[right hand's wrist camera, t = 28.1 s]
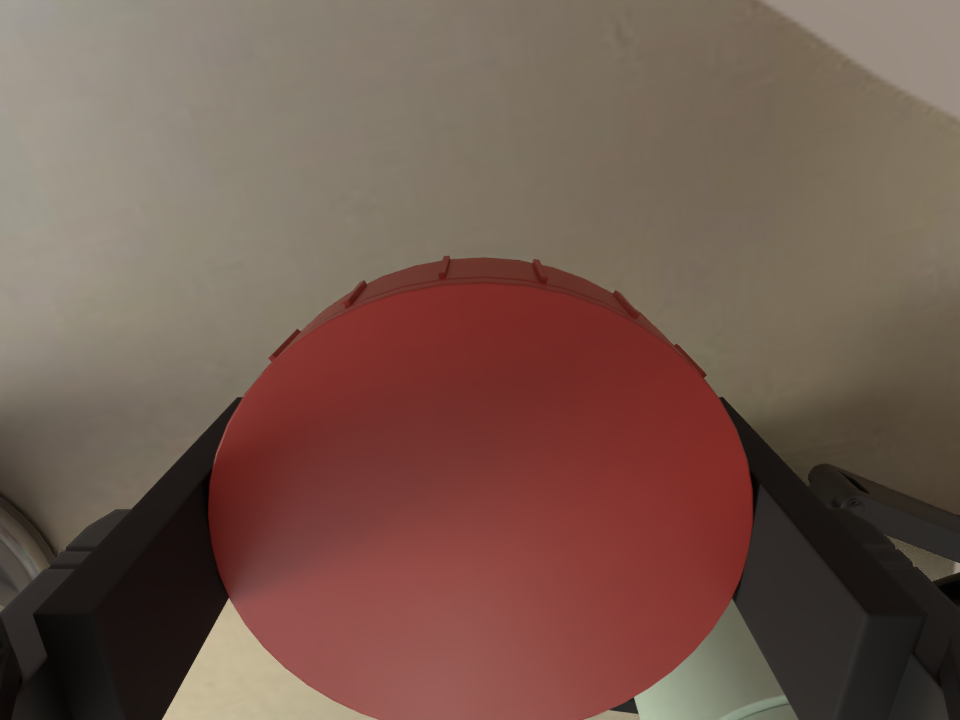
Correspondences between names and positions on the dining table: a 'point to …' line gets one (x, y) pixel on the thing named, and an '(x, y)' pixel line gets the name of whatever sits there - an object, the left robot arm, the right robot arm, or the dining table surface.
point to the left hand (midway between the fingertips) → (611, 601)
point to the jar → (719, 681)
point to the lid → (480, 498)
